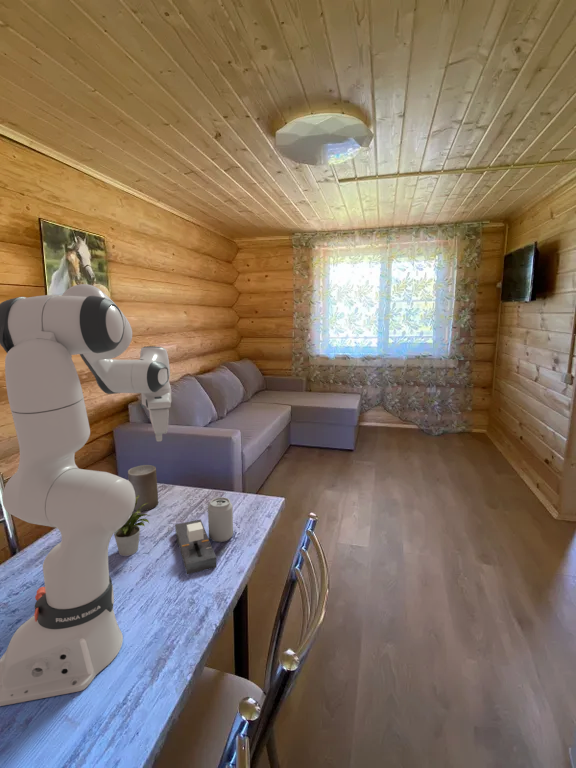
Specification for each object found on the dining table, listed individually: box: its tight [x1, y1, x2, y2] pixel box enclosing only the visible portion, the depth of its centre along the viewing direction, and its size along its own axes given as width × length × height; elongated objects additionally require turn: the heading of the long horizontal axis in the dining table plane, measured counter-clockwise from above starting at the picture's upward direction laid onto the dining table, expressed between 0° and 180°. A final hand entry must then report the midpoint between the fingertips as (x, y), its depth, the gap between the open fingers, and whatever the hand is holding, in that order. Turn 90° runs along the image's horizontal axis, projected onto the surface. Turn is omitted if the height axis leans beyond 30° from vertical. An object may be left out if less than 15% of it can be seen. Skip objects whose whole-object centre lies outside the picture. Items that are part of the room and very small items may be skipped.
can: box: [207, 496, 234, 543], centre depth 119 cm, size 8×8×12 cm
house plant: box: [113, 495, 151, 557], centre depth 110 cm, size 14×14×16 cm
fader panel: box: [174, 518, 217, 575], centre depth 113 cm, size 8×22×3 cm, turn 24°
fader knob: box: [187, 522, 204, 544], centre depth 110 cm, size 4×4×5 cm
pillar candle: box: [127, 464, 159, 512], centre depth 139 cm, size 10×10×15 cm
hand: (159, 440), depth 122 cm, fingers closed
